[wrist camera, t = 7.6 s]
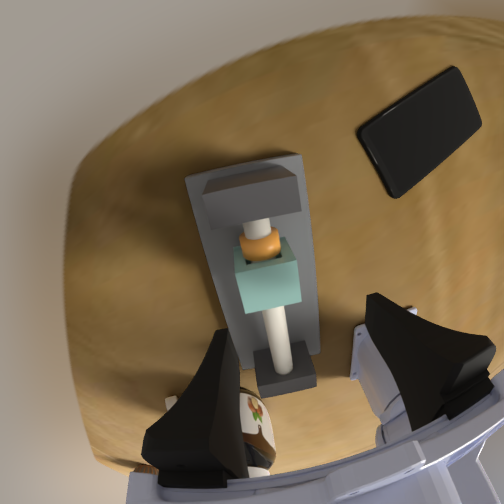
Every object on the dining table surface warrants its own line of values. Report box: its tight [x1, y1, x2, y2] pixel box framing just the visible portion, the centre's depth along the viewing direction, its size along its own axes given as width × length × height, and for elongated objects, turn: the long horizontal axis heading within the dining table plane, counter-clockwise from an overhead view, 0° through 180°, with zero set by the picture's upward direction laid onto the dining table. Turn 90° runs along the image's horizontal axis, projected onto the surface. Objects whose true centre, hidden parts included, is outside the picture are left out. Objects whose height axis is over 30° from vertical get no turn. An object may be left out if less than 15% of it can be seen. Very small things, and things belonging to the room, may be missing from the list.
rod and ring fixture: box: [185, 153, 320, 399], centre depth 20 cm, size 19×8×6 cm, turn 11°
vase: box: [133, 465, 159, 475], centre depth 38 cm, size 7×7×9 cm
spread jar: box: [165, 389, 276, 478], centre depth 25 cm, size 12×11×12 cm
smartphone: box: [357, 66, 482, 199], centre depth 18 cm, size 7×1×15 cm
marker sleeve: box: [233, 237, 302, 314], centre depth 18 cm, size 3×4×4 cm
